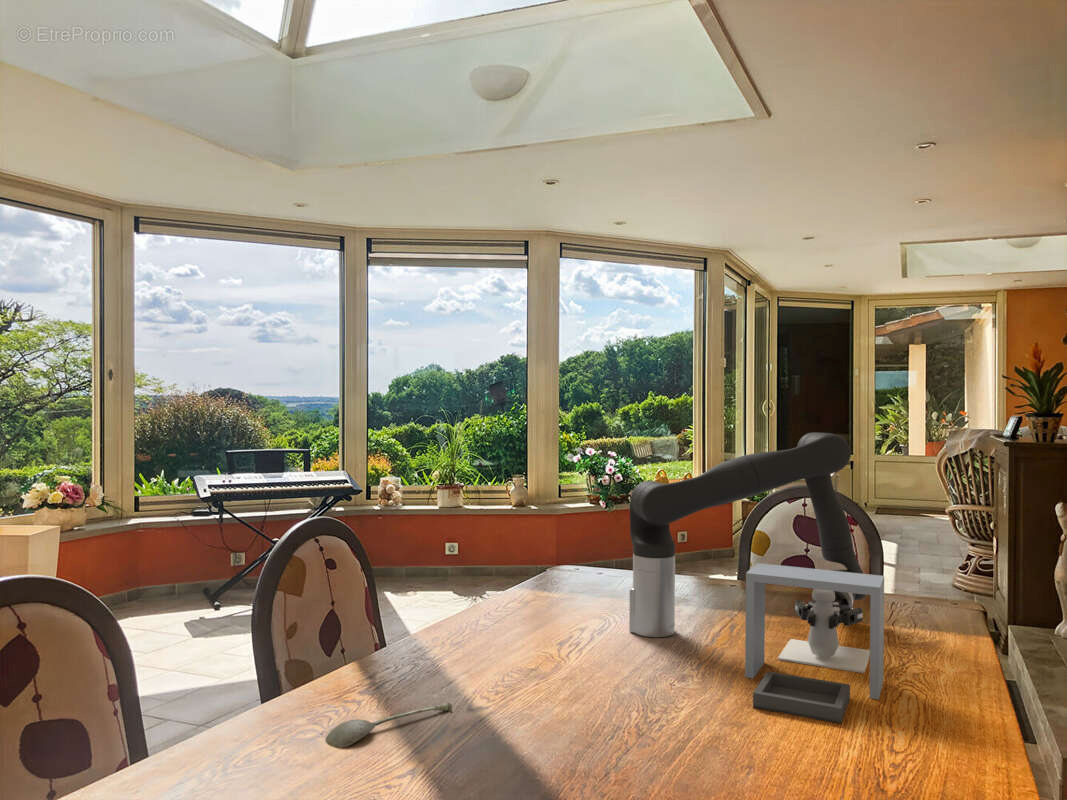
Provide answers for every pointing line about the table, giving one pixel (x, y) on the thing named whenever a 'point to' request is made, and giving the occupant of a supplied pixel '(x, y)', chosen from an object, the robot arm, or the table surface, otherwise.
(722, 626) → the table surface
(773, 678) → the pit box
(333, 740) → the soupspoon
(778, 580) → the gate
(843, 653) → the pad
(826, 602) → the salt shaker
